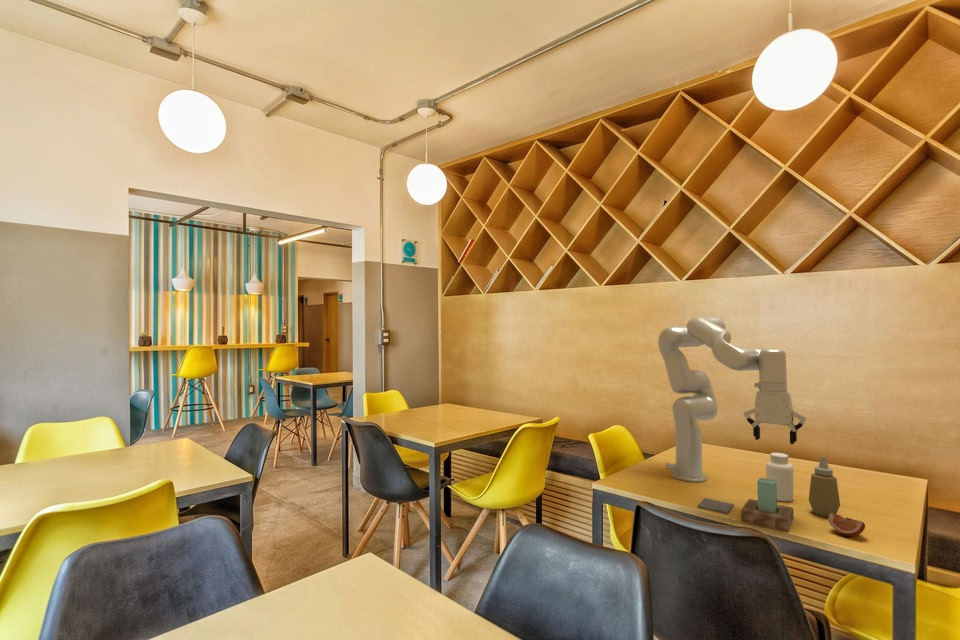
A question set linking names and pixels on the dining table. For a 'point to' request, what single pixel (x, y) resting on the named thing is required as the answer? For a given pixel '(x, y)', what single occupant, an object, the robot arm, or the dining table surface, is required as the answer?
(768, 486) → the teal block
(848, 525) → the fruit slice
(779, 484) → the pill bottle
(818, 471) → the squeeze bottle
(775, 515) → the pocket base
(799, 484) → the dining table surface
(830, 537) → the dining table surface
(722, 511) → the rubber mat
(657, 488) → the dining table surface
